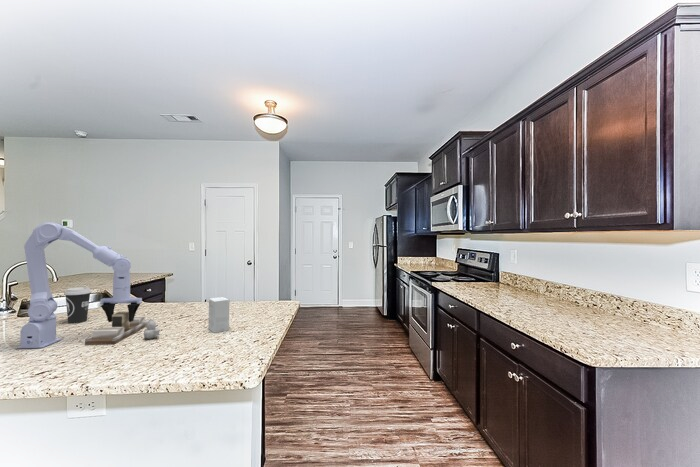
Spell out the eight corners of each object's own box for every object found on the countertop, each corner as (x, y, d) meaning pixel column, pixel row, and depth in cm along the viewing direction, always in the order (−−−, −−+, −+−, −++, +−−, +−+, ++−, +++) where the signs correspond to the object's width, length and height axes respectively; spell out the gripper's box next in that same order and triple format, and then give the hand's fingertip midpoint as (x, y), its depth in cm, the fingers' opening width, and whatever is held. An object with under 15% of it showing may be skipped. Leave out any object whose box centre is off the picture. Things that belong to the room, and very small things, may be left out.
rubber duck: (151, 335, 128) (151, 315, 128) (164, 337, 126) (165, 316, 126) (139, 339, 122) (139, 318, 123) (153, 341, 121) (153, 320, 121)
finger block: (121, 332, 127) (122, 315, 127) (110, 333, 126) (111, 315, 126) (129, 328, 132) (130, 311, 132) (119, 328, 132) (119, 311, 132)
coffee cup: (78, 324, 141) (79, 290, 141) (57, 324, 141) (58, 290, 141) (96, 319, 150) (97, 286, 150) (76, 318, 150) (77, 286, 151)
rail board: (114, 344, 117) (115, 332, 117) (84, 344, 116) (85, 333, 116) (150, 324, 143) (150, 314, 143) (125, 324, 142) (126, 315, 142)
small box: (229, 330, 136) (229, 299, 136) (213, 333, 132) (214, 301, 132) (223, 326, 142) (223, 296, 142) (207, 328, 138) (208, 298, 138)
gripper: (145, 285, 134) (145, 318, 134) (108, 286, 132) (107, 319, 132) (136, 288, 127) (136, 323, 127) (97, 289, 125) (96, 323, 125)
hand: (121, 321), depth 129 cm, fingers open, 7 cm apart
